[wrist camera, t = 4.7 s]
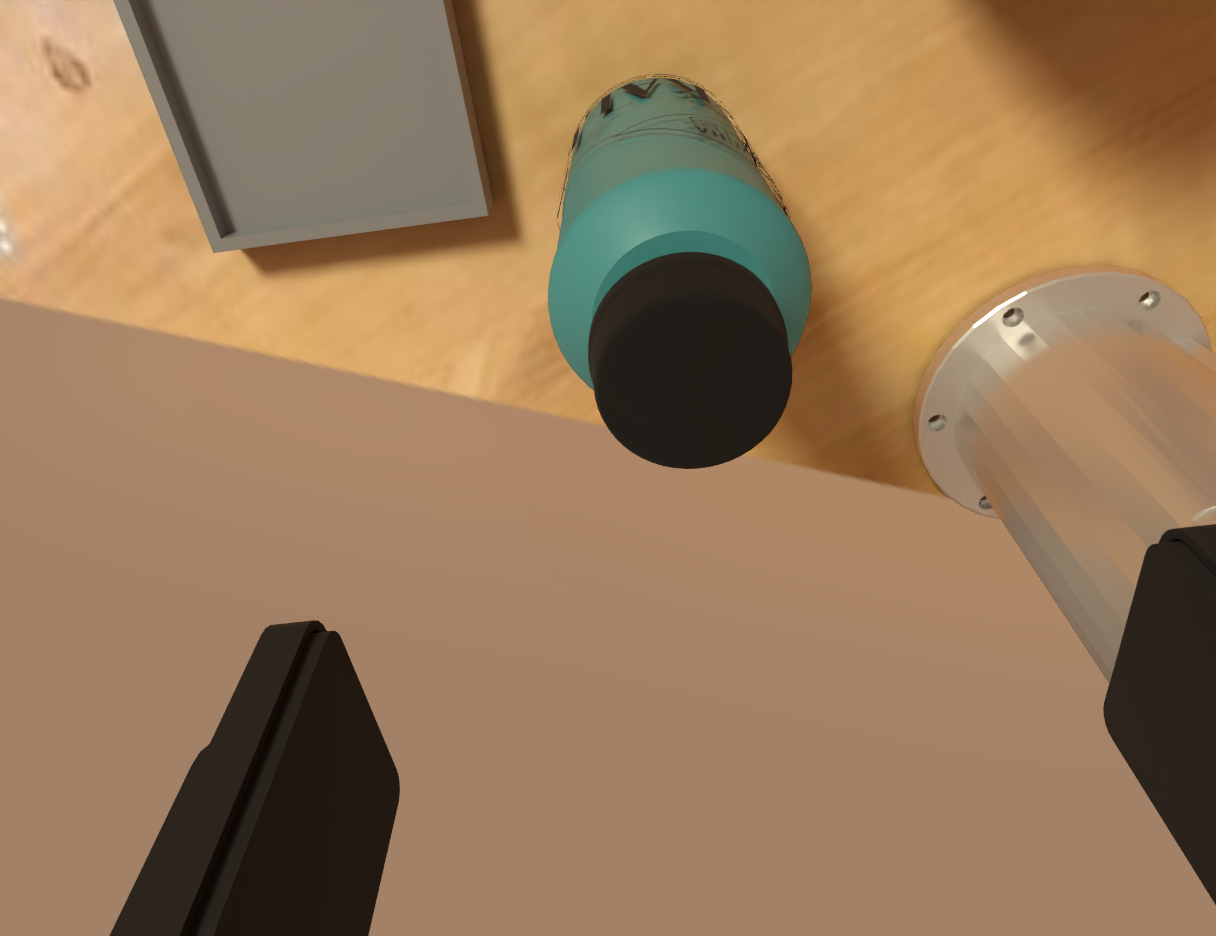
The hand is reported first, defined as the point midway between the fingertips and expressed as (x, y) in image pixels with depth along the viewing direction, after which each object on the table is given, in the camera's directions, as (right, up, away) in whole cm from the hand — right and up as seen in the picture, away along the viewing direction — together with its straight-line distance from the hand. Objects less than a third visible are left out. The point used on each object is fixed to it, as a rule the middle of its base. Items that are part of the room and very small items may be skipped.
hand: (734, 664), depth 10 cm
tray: (-12, +17, +21) cm, 30 cm away
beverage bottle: (0, +15, +23) cm, 27 cm away
